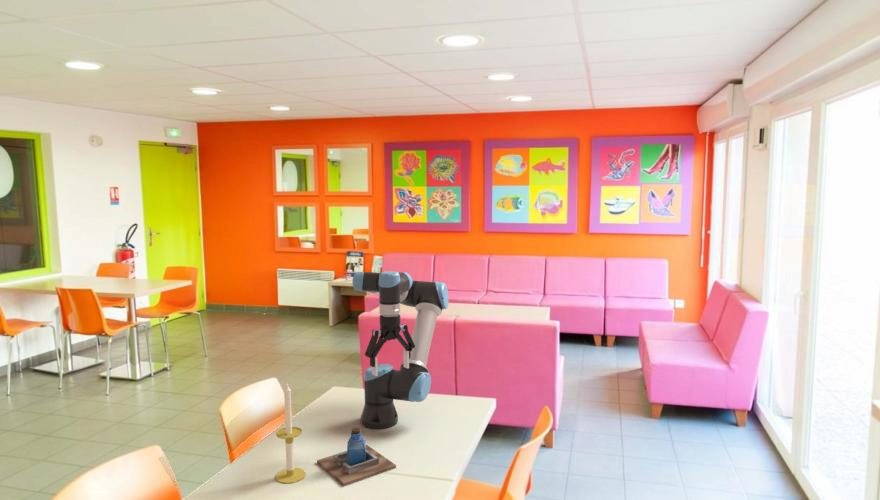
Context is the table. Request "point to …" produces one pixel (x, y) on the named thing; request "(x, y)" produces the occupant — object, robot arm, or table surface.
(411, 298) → the robot arm
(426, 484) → the table surface
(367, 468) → the pocket board
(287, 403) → the candle
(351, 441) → the perfume bottle
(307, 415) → the table surface
